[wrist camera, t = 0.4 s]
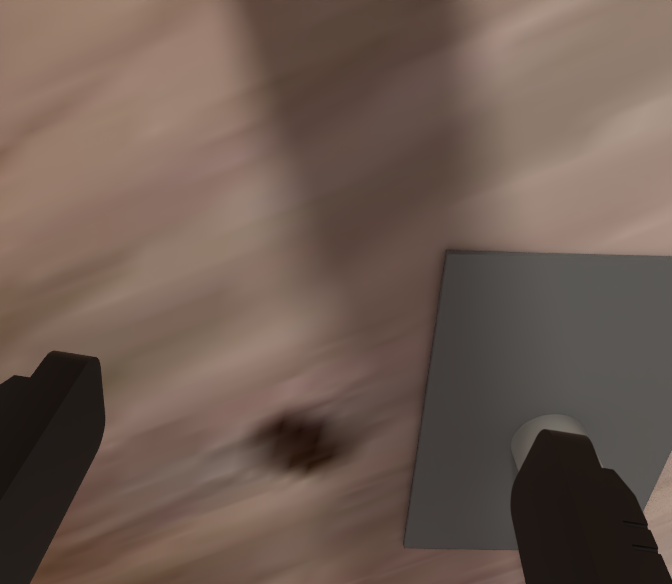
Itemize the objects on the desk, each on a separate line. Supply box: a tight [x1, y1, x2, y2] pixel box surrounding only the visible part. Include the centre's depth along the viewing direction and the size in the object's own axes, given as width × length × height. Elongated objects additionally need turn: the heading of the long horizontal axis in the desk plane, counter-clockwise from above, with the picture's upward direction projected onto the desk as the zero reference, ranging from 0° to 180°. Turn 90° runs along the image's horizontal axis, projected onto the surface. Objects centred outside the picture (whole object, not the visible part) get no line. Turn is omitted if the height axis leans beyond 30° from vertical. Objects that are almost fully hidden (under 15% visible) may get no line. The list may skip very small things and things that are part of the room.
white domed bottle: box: [511, 414, 604, 472], centre depth 31 cm, size 5×5×12 cm
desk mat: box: [404, 251, 672, 550], centre depth 36 cm, size 24×16×1 cm, turn 178°
